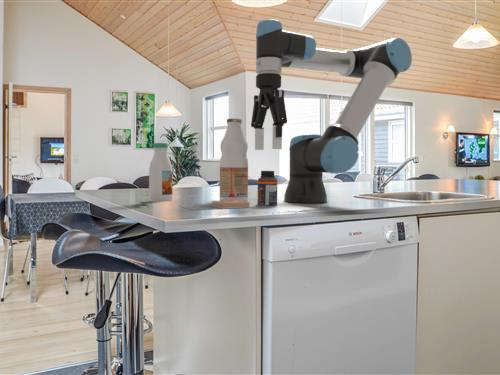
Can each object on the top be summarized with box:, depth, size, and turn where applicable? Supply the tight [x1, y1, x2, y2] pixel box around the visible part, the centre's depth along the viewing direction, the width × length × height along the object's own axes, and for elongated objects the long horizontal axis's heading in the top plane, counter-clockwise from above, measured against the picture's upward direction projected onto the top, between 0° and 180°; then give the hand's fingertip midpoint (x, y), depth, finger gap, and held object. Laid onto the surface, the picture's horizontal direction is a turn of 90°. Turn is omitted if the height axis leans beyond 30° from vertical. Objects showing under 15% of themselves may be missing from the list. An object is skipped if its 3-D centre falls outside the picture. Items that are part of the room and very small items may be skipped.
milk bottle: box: [148, 142, 173, 203], centre depth 149 cm, size 8×8×20 cm
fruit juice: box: [219, 118, 249, 202], centre depth 147 cm, size 9×9×28 cm
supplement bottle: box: [257, 170, 278, 207], centre depth 134 cm, size 6×6×11 cm
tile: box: [211, 200, 250, 210], centre depth 127 cm, size 8×2×8 cm
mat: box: [178, 204, 254, 211], centre depth 126 cm, size 18×13×1 cm
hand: (267, 149), depth 133 cm, fingers open, 10 cm apart
